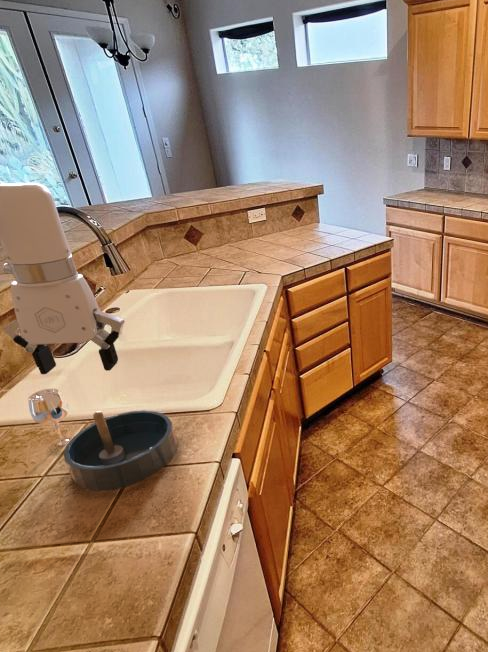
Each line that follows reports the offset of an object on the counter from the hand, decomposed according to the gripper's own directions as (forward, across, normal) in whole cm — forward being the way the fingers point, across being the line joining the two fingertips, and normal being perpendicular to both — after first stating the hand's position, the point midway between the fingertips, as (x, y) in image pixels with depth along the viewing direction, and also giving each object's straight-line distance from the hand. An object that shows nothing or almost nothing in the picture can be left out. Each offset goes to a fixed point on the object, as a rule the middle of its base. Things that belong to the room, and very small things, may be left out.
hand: (80, 368), depth 72 cm
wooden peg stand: (+21, -1, +2) cm, 21 cm away
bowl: (+22, +1, +2) cm, 22 cm away
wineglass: (+22, -14, +9) cm, 27 cm away
